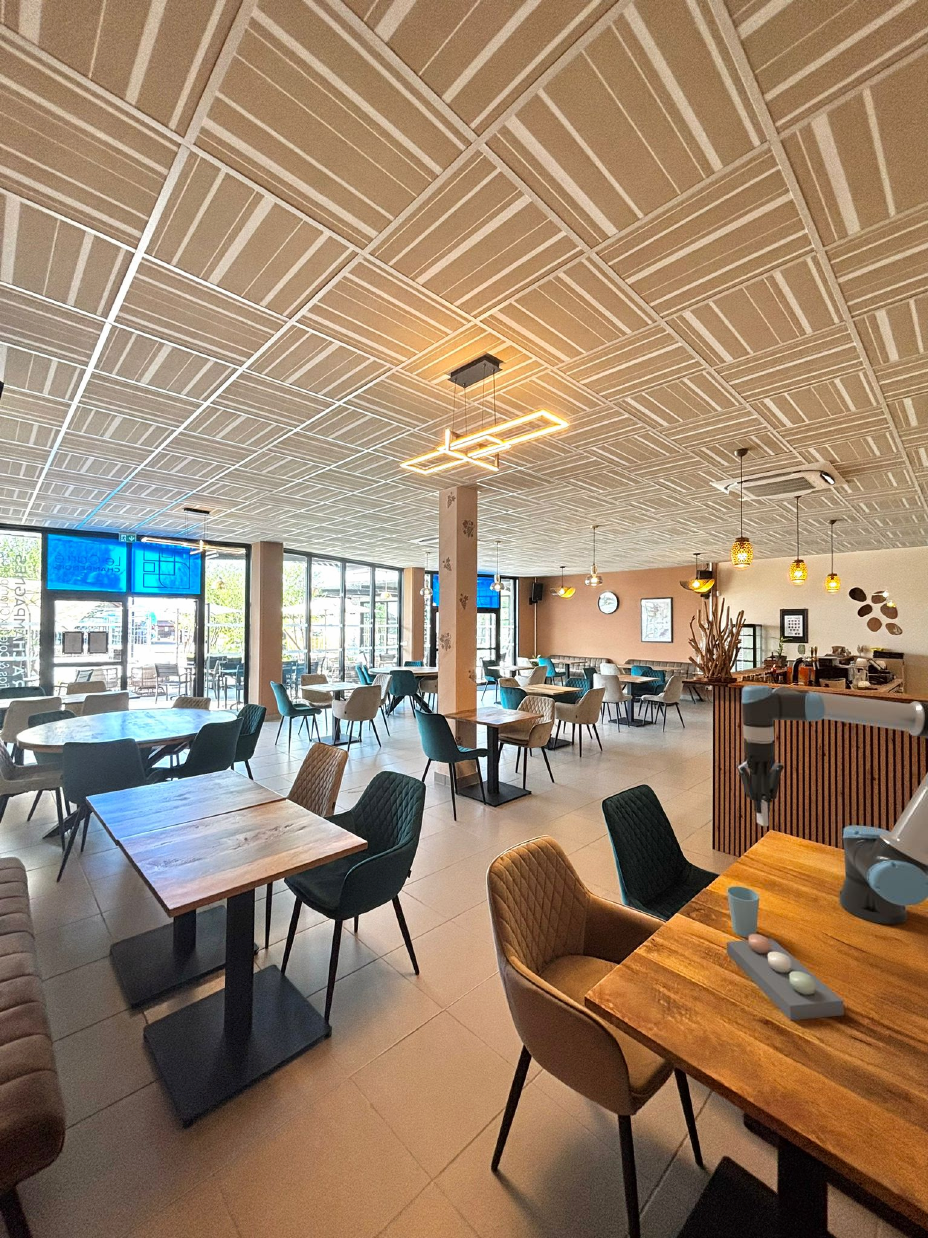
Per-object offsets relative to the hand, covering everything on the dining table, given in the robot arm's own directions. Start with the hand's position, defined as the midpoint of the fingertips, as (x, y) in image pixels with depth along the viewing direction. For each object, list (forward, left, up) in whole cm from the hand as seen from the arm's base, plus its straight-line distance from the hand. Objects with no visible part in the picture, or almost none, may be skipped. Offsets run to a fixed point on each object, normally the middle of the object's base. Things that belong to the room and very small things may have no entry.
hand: (762, 824), depth 143 cm
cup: (+10, +5, -27) cm, 29 cm away
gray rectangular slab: (+14, +24, -26) cm, 38 cm away
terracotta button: (+14, +17, -25) cm, 33 cm away
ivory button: (+14, +24, -25) cm, 37 cm away
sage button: (+14, +31, -25) cm, 42 cm away
